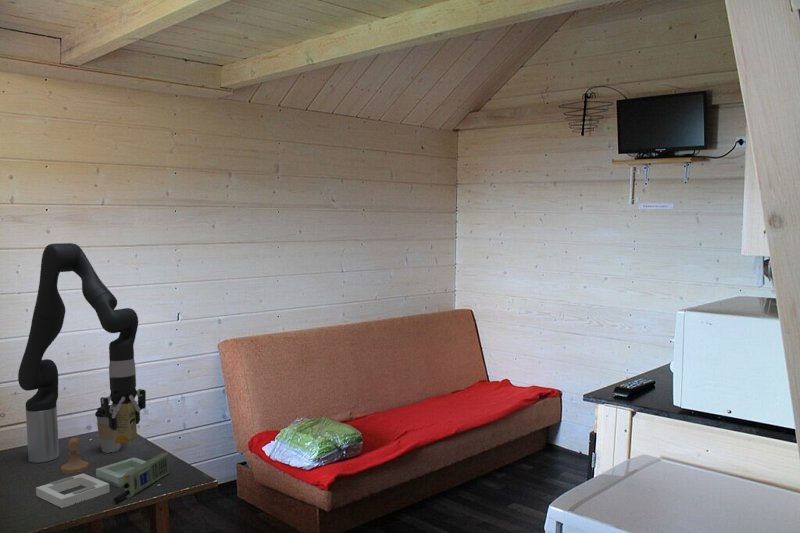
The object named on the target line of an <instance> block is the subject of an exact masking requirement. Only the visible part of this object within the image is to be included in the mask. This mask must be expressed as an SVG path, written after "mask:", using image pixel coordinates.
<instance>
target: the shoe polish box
mask: <svg viewBox="0 0 800 533" xmlns="http://www.w3.org/2000/svg"><path fill="white" fill-rule="evenodd" d="M111 404H112V403H111ZM116 406H117V405H116V404H112V407H116ZM115 418H116V427H117V429H116V430H114V443H121V444H124V443H125V444H128V443H132V442H134V440H136V439H137V438H138V432H137V431H138V430H137V424H136V410H135V407H134V405H133V402H126V403H122V404H121V408H120V410H119V411H118V412H117V414H116V416H115Z"/></svg>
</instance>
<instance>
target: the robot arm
mask: <svg viewBox="0 0 800 533" xmlns="http://www.w3.org/2000/svg"><path fill="white" fill-rule="evenodd" d="M40 263H41V264H40V273H39V274H40V275H39V283H38V289H37V295H36V300H35V305H34V308H33V314H32V317H31V318H32V319H31V324H30V330H29V332H28V333H29V334H28V338H27V342H26V347H25V350H24V352H23V356H22V359H21V361H20V365H19V368H18V373H17V374H18V375H17V378H18V379H17V381H18V385H19V386H20V388H21V389H22V390H24V391H27V392H28V391H35V390H36V393H35V394H33V396H32V397H30V398H29V399H27V400H26V401H25V419H26V438H27V439H26V440H27V456H28V457H27V460H28V462H30V463H45V462H50V461H53V460H56V459H58V458H59V457H60V449H59V448H60V447H59V429H58V427H59V426H58V425H59V424H58V408H57V407H58V406H57V403H58V398H59V371H58V367H57V364H56V363H55V361H53V360H52V359H48V358H47V359H46V358H45V359H43V357H44V355H45V353H46V352H47V349H48V348H50V345H51V344H52V343H53V342H54V341H55V340H56V338H57V337H58V335H59V334H60V332H61V331H62V328H63V324H64V322H65V321H64V320H65V316H66V306H65V304H64V301H63V298H62V296H61V295H60V294H61V293H60V292H59V289H58V282H59V276H60V273H68V272H73V273H75V274H76V275H77V276H78V277H79V278H80V280H81V291H82V296H83V297H84V299H85V300H86V302H87V303H88V304H89V305H90V306H91V307H92V308H93V311H95V313H96V316H97V319H98V320H99V324H100V325H101V327H102V329H103V330H104V331H106V332H107V333H109V334H119V335H118V337H117V338H116V339H114V340H112V341H110V342H109V345H108V353H109V355H108V356H109V357H108V358H109V365H108V375H109V377H108V378H109V389H110V394H109V396H106V397H103V396H102V397H100V398H99V400H100V407H101V412H102V416H103V417H107V418H109V428H111V430H116V429H117V427H116V418H115V416H116V414H117V412H118V411H119V410H120V408H121V404H122V403H126V402H133V405H134V407H135V410H136V425H139V424H140V421H141V411H142V410H145V409H146V406H147V405H146V398H147V397H146V396H147V395H146V390H145V389H142V388H139V389H136V387H137V376H136V375H137V373H136V362H135V348H134V345H135V341H136V336H137V331H138V327H139V317H138V314H137V312H136V311H135V310H134V309H133V308H130V307H126V308H118V309H116V308H117V305H118V300H117V297H116V296H115V295H114V294H113V293H112V292H111V291H110V289H109V288H108V287H107V286H106V285H105V283H104V282H103V281H102V280H101V279H100V278H99V276H98V274H97V272H96V270H95V269H94V267H93V265H92V264H91V262H90V260H89V259H88V257H87V255H86V253H85V252H84V250H83V249H82V248H81V247H80V246H79V245H78V244H76V243H72V242H68V243H66V242H65V243H63V242H62V243H61V242H60V243H57V242H56V243H49V244H48V245H47V246H46V247H44V250H43V252H42V255H41V261H40ZM136 396H137V400H136V399H135V398H136ZM110 403H111V404H110ZM112 404H116V405H117V406H116V407H112ZM109 405H111V406H110V411H109Z"/></svg>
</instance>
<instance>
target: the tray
mask: <svg viewBox="0 0 800 533" xmlns="http://www.w3.org/2000/svg"><path fill="white" fill-rule="evenodd" d="M145 462H147V461H146V460H143V459H140V458H138V457H131V458H128V459H127V458H126V459H124V460H120V461H118V462H115V463H111V464H108V465H105V466H102V467H98V468H95V478H96V479H99V480H101V481H103V482H106V483H108V484H109V485H111V486H114V487H117V488H122V487H123V488H124V485H125V481H124V476H123V475H124V474H125V473H127V472H129V471H131V470H133V469H134V468H136V467H138V466H140V465H141V464H143V463H145Z"/></svg>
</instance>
